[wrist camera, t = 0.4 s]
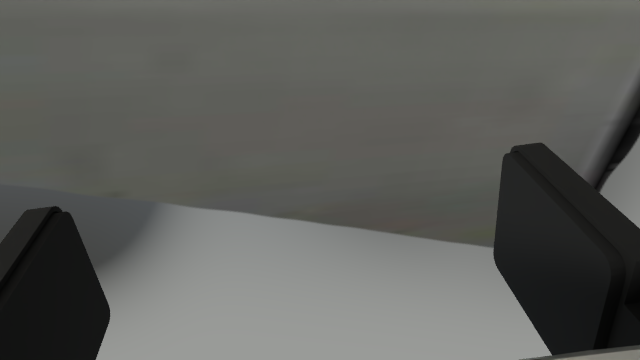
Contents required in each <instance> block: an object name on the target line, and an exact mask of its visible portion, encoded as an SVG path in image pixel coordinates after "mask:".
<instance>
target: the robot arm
mask: <svg viewBox="0 0 640 360" xmlns="http://www.w3.org/2000/svg"><path fill="white" fill-rule="evenodd" d="M494 260H495V264H496V266H497V268H498V270H499V271H500V273H501V275H502V276H503V278H504V279H505V281H506V283H507V284H508V286H509V287H510V289H511V290H512V292H513V294H514V295H515V297H516V298H517V300H518V302H519V303H520V305H521V306H522V308H523V310H524V311H525V313H526V314H527V316H528V317H529V319H530V321H531V322H532V324H533V325H534V327H535V329H536V330H537V332H538V333H539V335H540V337H541V338H542V340H543V341H544V343H545V344H546V346H547V348H548V349H549V351H550V352H551V354H552V356H545V357H537V358H529V359H522V360H640V229H639V228H638V227H637V226H636V225H635V224H634V223H633V222H631V221H630V220H629V219H628V218H627V217H626V216H625V215H624V214H622V213H621V212H620V211H619V210H618V209H617V208H616V207H614V206H613V205H612V204H611V203H610V202H609V201H608V200H607V199H605V198H604V197H603V196H602V195H601V194H600V193H599V192H598V191H596V190H595V189H594V188H593V187H592V186H591V185H590V184H588V183H587V182H586V181H585V180H584V179H583V178H582V177H581V176H579V175H578V174H577V173H576V172H575V171H574V170H573V169H571V168H570V167H569V166H568V165H567V164H566V163H565V162H564V161H562V160H561V159H560V158H559V157H558V156H557V155H556V154H554V153H553V152H552V151H551V150H550V149H549V148H548V147H547V146H545V145H544V144H543V143H533V144H526V145H518V146H514V147H513V148H512V149H511V151H510V153H507V154H505V155H504V157H503V161H502V171H501V181H500V191H499V201H498V211H497V221H496V231H495V241H494ZM109 320H110V308H109V305H108V302H107V300H106V297H105V295H104V292H103V290H102V288H101V285H100V283H99V280H98V278H97V275H96V273H95V271H94V268H93V266H92V264H91V261H90V259H89V256H88V254H87V252H86V249H85V247H84V244H83V242H82V239H81V237H80V235H79V232H78V230H77V227H76V225H75V223H74V220H73V218H72V216H71V215H70V213H68V212H62V210H61V209H60V208H59V207H56V206H53V207H45V208H38V209H30V210H26V211H25V212H24V213H23V215H22V216H21V217H20V219H19V220H18V221H17V222H16V224H15V225H14V226H13V228H12V229H11V230H10V232H9V233H8V234H7V235H6V237H5V238H4V239H3V241H2V242H1V243H0V360H96V357H97V354H98V351H99V348H100V346H101V343H102V341H103V338H104V335H105V332H106V329H107V327H108V324H109Z"/></svg>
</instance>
